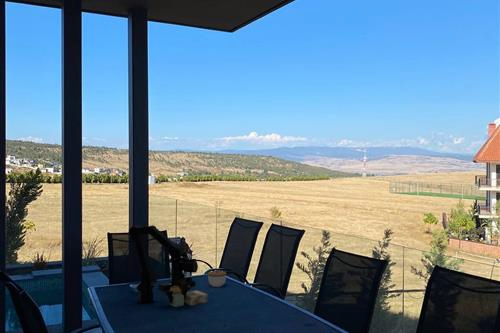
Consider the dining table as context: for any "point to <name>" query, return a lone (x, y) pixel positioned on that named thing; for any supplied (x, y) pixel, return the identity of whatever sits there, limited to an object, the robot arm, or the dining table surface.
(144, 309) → the dining table surface
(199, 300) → the birch plinth
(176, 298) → the sage cube
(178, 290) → the croissant
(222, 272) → the lidded jar
